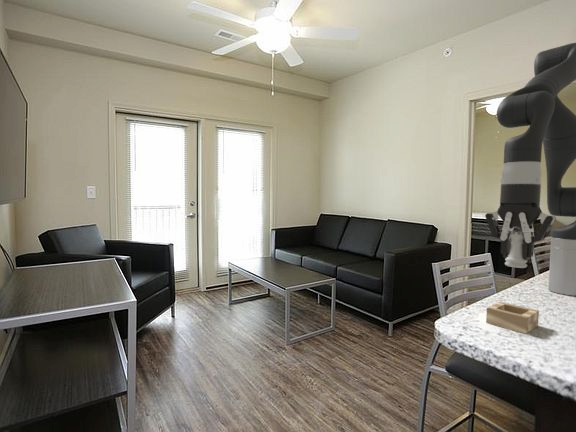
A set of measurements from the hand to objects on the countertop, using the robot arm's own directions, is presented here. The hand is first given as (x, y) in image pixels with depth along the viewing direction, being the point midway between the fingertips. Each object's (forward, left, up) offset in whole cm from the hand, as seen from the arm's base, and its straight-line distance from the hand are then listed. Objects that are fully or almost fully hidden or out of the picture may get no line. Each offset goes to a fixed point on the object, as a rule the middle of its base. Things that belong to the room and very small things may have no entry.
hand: (516, 257), depth 77 cm
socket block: (0, 0, -16) cm, 16 cm away
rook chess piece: (0, 0, -2) cm, 2 cm away
